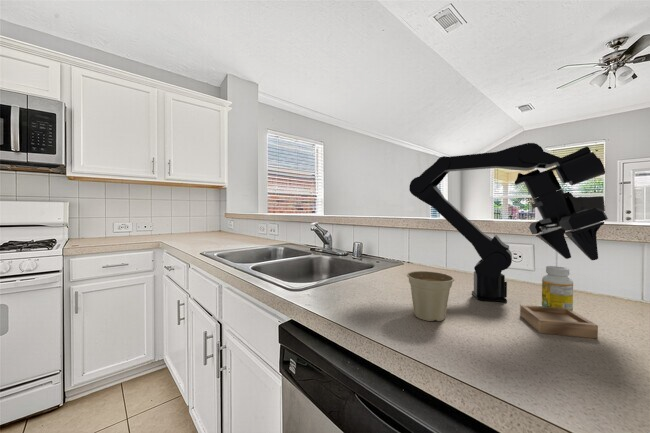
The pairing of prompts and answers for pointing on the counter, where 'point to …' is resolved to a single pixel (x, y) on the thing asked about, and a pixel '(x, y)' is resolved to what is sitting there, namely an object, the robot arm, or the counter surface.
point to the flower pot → (430, 294)
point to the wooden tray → (558, 321)
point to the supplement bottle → (557, 288)
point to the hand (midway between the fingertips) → (580, 259)
